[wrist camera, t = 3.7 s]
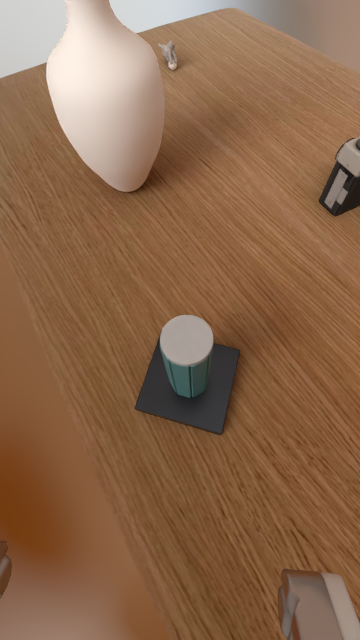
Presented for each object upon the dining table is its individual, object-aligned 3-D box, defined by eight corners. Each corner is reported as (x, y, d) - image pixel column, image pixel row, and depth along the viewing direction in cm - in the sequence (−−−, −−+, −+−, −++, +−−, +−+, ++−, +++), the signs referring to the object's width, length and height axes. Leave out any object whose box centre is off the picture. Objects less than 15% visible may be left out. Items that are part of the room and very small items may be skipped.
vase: (168, 215, 49) (139, -55, 24) (79, 215, 50) (-39, -46, 25) (173, 155, 55) (155, -109, 30) (94, 156, 56) (12, -100, 31)
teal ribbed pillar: (202, 401, 35) (206, 370, 24) (165, 391, 35) (152, 356, 25) (212, 365, 37) (219, 321, 26) (176, 356, 37) (168, 309, 27)
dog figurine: (176, 74, 71) (169, 44, 69) (185, 61, 64) (178, 26, 61) (163, 77, 71) (156, 47, 68) (170, 65, 64) (163, 30, 61)
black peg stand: (220, 435, 34) (226, 427, 28) (136, 410, 36) (123, 396, 29) (239, 353, 38) (247, 329, 32) (162, 333, 40) (156, 307, 34)
